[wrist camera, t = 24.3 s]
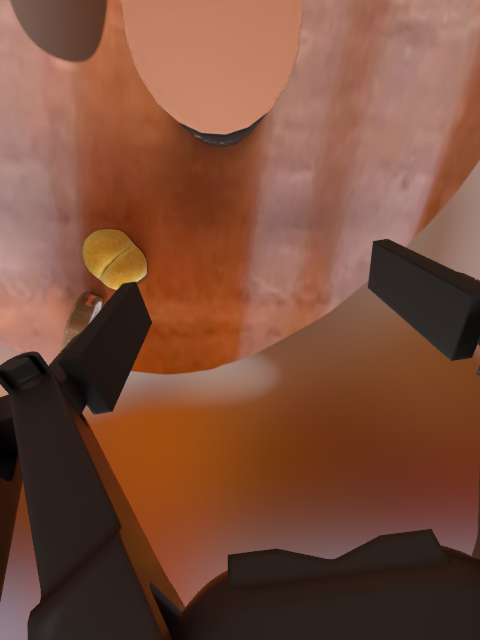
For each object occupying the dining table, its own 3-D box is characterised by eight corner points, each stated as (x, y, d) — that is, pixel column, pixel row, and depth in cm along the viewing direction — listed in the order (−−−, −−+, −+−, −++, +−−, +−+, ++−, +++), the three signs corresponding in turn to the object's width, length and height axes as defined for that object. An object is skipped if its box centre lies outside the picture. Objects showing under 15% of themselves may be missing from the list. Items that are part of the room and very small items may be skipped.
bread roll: (111, 216, 37) (100, 221, 34) (157, 264, 41) (151, 274, 38) (74, 250, 39) (60, 259, 36) (121, 293, 43) (112, 305, 40)
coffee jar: (153, 87, 30) (80, 10, 15) (219, -3, 27) (214, -223, 11) (218, 167, 35) (213, 171, 19) (282, 97, 31) (338, 36, 16)
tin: (91, 282, 42) (64, 307, 35) (111, 290, 43) (88, 316, 36) (75, 349, 49) (49, 382, 42) (92, 355, 50) (70, 388, 42)
